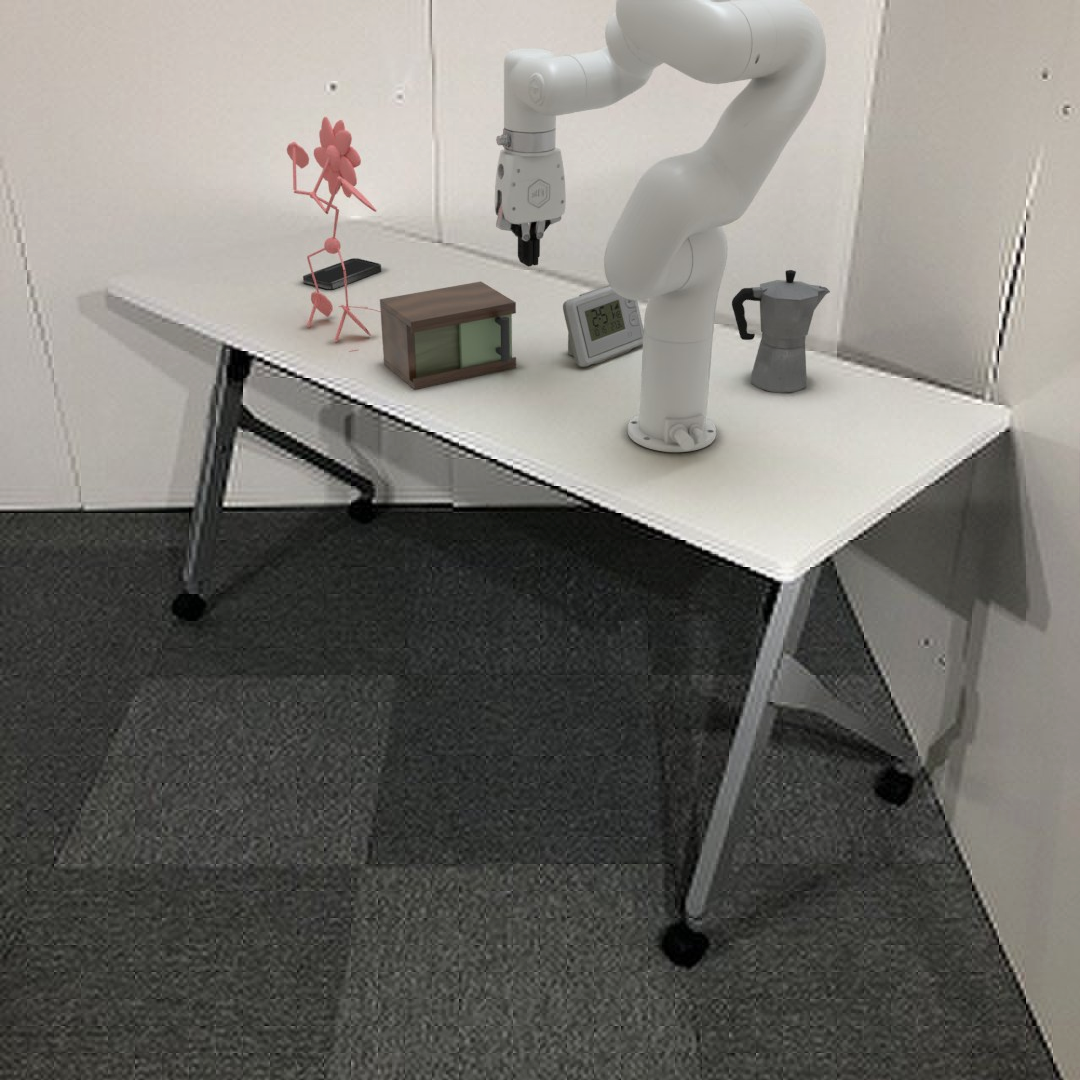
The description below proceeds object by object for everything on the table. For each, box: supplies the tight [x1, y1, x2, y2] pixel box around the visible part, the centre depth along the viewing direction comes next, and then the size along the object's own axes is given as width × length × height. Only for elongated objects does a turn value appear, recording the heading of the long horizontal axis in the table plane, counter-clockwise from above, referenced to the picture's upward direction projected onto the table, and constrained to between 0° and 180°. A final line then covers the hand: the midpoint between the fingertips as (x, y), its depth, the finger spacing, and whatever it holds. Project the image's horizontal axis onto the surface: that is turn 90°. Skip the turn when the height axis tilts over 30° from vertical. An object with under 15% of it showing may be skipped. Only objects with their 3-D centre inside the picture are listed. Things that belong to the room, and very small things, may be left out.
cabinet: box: [379, 281, 517, 390], centre depth 191 cm, size 12×18×11 cm, turn 120°
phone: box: [302, 257, 382, 290], centre depth 232 cm, size 8×1×15 cm
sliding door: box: [459, 314, 513, 368], centre depth 188 cm, size 4×9×8 cm, turn 120°
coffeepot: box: [731, 269, 831, 394], centre depth 184 cm, size 15×9×18 cm, turn 101°
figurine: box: [286, 116, 381, 353], centre depth 200 cm, size 15×26×35 cm, turn 40°
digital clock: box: [562, 284, 644, 368], centre depth 196 cm, size 16×9×11 cm, turn 123°
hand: (528, 263), depth 184 cm, fingers closed
